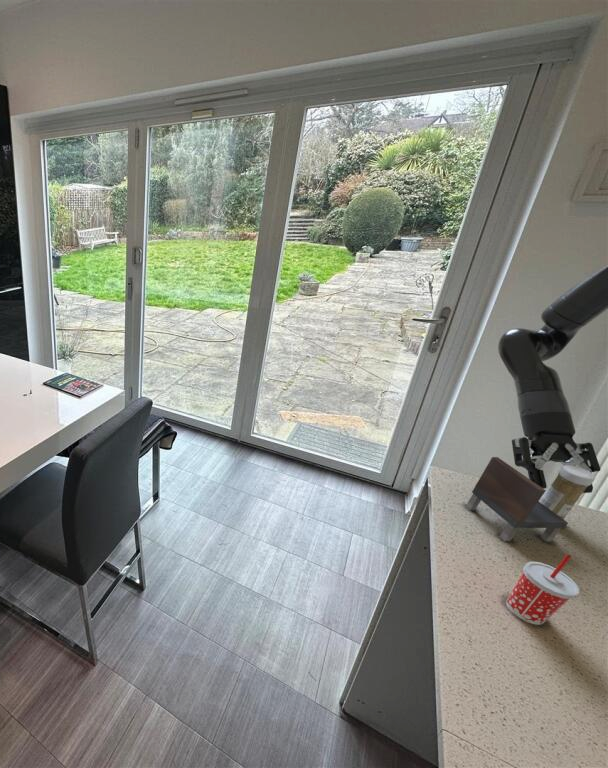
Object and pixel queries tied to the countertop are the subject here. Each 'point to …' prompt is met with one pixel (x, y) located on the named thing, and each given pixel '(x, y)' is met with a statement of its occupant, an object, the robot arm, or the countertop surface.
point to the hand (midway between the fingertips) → (562, 490)
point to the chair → (514, 500)
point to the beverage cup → (541, 592)
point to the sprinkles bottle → (566, 489)
